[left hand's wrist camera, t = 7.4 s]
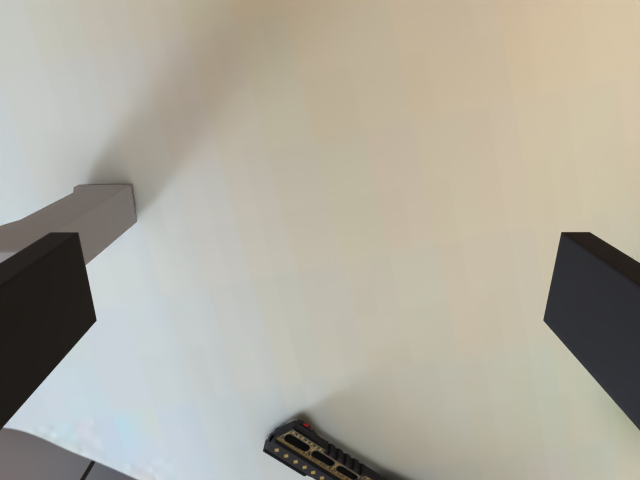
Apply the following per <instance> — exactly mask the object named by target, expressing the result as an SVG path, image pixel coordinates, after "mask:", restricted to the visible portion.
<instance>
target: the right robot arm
mask: <svg viewBox="0 0 640 480" xmlns="http://www.w3.org/2000/svg"><path fill="white" fill-rule="evenodd" d="M95 462H96V461H94V460H92V461H91V462H90V464H89V466H88V467H87V469H86V471H85V472H84V474H83V475H82V477H81V479H80V480H85V479H86V477H87V476H88V474H89V472H90V471H91V469H92V467H93V466H94V464H95Z"/></svg>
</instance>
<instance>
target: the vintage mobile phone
mask: <svg viewBox="0 0 640 480" xmlns="http://www.w3.org/2000/svg"><path fill="white" fill-rule="evenodd" d="M136 222H137V218H136V212H135V206H134V200H133V194H132V187H131V185H130V184H118V185H78V186H76V187H74V192H73V193H72V194H70V195H68V196H66V197H64V198H62V199H60V200H58V201H56V202H54V203H52V204H50V205H49V206H47V207H45V208H43V209H41V210H39V211H37V212H35V213H33V214H31V215H29V216H27V217H25V218H23V219H21V220H19V221H15V222H12V223H8V224H5V225H2V226H0V263H1V262H3V261H4V260H6V259H8V258H9V257H11V256H13V255H14V254H16V253H17V252H19V251H21V250H22V249H24V248H26V247H27V246H29V245H30V244H32V243H34V242H35V241H37V240H39V239H40V238H42V237H43V236H45V235H47V234H48V233H50V232H79V237H80V242H81V247H82V252H83V257H84V262H85V265H86V264H88V263H89V262H90V261H91V260H92V259H93V258H95V257H96V256H97V255H98V254H99V253H101V252H102V251H103V250H104V249H105V248H106V247H108V246H109V245H110V244H111V243H112V242H113V241H115V240H116V239H117V238H118V237H119V236H121V235H122V234H123V233H124V232H125V231H126V230H128V229H129V228H130V227H131V226H132V225H134V224H135V223H136Z"/></svg>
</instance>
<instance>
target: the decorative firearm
mask: <svg viewBox="0 0 640 480" xmlns="http://www.w3.org/2000/svg"><path fill="white" fill-rule="evenodd" d="M263 452H265V453H267V454H268V455H270V456H272V457H273V458H275V459H276V460H278V461H280V462H281V463H283V464H285V465H286V466H288V467H290V468H291V469H293V470H294V471H296V472H298V473H299V474H301V475H303V476H306V475H307V476H310V477H312V478H314V479H316V480H387V479H386V478H384V477H383V476H381V475H379V474H378V473H376V472H375V471H373V470H372V469H370V468H368V467H367V466H365V465H364V464H363V463H359V462H358V460H356V459H355V458H351V456H350V455H349V454H347V453H346V454H345V453H343V451H342V450H341V449H337V448H336V447H335V446H334V445H333V444H329V443H328V441H326V440H324V439H323V438H321V437H320V436H318V435H317V434H316V433H315V432H314V430H313V429H312V428H311V426H309V425H307V424H305V423H304V422H303V421H302V420H298V421H292V422H290V423H288V424H287V425H285V426H283V427H281V428H279V429H278V428H277V429H276V430H275V431H273V432H272V433H271V434H270V436H269V438H268V439H266V441H265V445H264V449H263Z"/></svg>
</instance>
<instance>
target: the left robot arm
mask: <svg viewBox="0 0 640 480" xmlns="http://www.w3.org/2000/svg"><path fill="white" fill-rule="evenodd" d="M96 321H97V320H96V315H95V310H94V305H93V300H92V295H91V291H90V286H89V281H88V276H87V271H86V266H85V262H84V257H83V252H82V247H81V242H80V237H79V232H50V233H48V234H47V235H45V236H43V237H42V238H40V239H39V240H37V241H35V242H34V243H32V244H30V245H29V246H27V247H26V248H24V249H22V250H21V251H19V252H17V253H16V254H14V255H13V256H11V257H9V258H8V259H6V260H4V261H3V262H1V263H0V430H1V429H2V427H3V426H4V425H5V424H6V423H7V422H8V421H9V420H10V418H11V417H12V416H13V415H14V414H15V413H16V412H17V410H18V409H19V408H20V407H21V406H22V405H23V404H24V402H25V401H26V400H27V399H28V398H29V397H30V396H31V394H32V393H33V392H34V391H35V390H36V389H37V388H38V387H39V385H40V384H41V383H42V382H43V381H44V380H45V379H46V377H47V376H48V375H49V374H50V373H51V372H52V371H53V369H54V368H55V367H56V366H57V365H58V364H59V363H60V361H61V360H62V359H63V358H64V357H65V356H66V355H67V354H68V352H69V351H70V350H71V349H72V348H73V347H74V346H75V344H76V343H77V342H78V341H79V340H80V339H81V338H82V336H83V335H84V334H85V333H86V332H87V331H88V330H89V329H90V327H91V326H92V325H93V324H94V323H95V322H96ZM543 321H544V322H545V323H546V324H547V325H548V326H549V327H550V329H551V330H552V331H553V332H554V333H555V334H556V335H557V336H558V338H559V339H560V340H561V341H562V342H563V343H564V344H565V346H566V347H567V348H568V349H569V350H570V351H571V352H572V354H573V355H574V356H575V357H576V358H577V359H578V360H579V361H580V363H581V364H582V365H583V366H584V367H585V368H586V369H587V371H588V372H589V373H590V374H591V375H592V376H593V377H594V379H595V380H596V381H597V382H598V383H599V384H600V385H601V387H602V388H603V389H604V390H605V391H606V392H607V393H608V394H609V396H610V397H611V398H612V399H613V400H614V401H615V402H616V404H617V405H618V406H619V407H620V408H621V409H622V410H623V412H624V413H625V414H626V415H627V416H628V417H629V418H630V420H631V421H632V422H633V423H634V424H635V425H636V426H637V427H638V429H639V430H640V263H639V262H637V261H636V260H634V259H632V258H631V257H629V256H627V255H626V254H624V253H623V252H621V251H619V250H618V249H616V248H614V247H613V246H611V245H610V244H608V243H606V242H605V241H603V240H601V239H600V238H598V237H597V236H595V235H593V234H592V233H590V232H561V237H560V242H559V247H558V252H557V257H556V262H555V266H554V271H553V276H552V281H551V286H550V291H549V295H548V300H547V305H546V310H545V315H544V320H543Z"/></svg>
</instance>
